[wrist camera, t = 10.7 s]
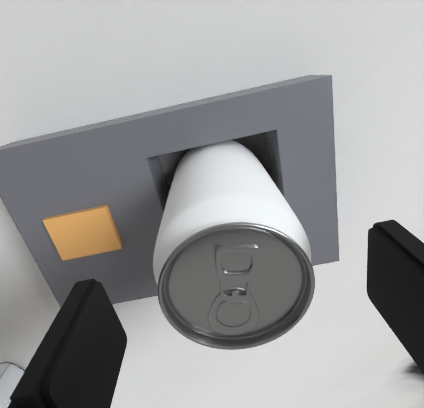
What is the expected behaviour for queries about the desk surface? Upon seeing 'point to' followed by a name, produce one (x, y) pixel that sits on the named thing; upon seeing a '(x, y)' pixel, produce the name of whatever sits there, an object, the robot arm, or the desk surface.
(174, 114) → the grey socket block
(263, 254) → the can
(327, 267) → the desk surface
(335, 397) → the desk surface
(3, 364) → the photo printer
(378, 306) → the robot arm
